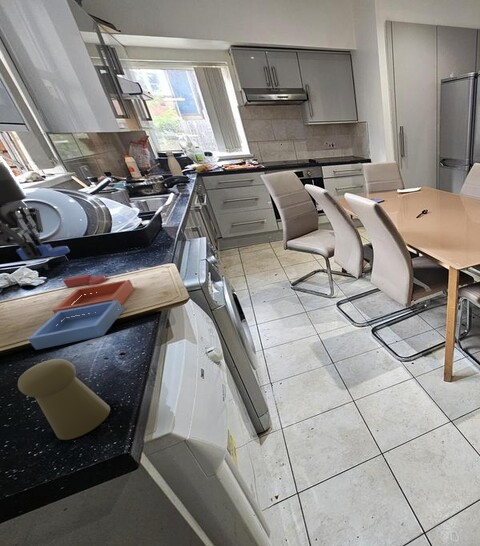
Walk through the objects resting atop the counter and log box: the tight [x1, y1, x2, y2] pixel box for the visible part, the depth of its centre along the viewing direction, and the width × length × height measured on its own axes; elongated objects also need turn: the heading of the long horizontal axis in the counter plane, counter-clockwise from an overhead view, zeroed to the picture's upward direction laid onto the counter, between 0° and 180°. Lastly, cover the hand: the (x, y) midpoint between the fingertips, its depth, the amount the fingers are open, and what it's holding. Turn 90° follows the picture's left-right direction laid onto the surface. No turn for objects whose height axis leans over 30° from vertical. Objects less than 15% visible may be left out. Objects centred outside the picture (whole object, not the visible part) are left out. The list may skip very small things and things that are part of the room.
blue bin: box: [27, 300, 124, 351], centre depth 67 cm, size 11×10×3 cm
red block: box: [62, 274, 107, 289], centre depth 85 cm, size 8×3×2 cm, turn 110°
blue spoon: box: [15, 243, 71, 261], centre depth 72 cm, size 8×3×2 cm, turn 111°
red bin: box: [51, 279, 135, 315], centre depth 76 cm, size 11×10×3 cm
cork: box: [17, 358, 111, 441], centre depth 44 cm, size 6×6×11 cm
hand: (38, 255), depth 72 cm, fingers closed on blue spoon, 1 cm apart
